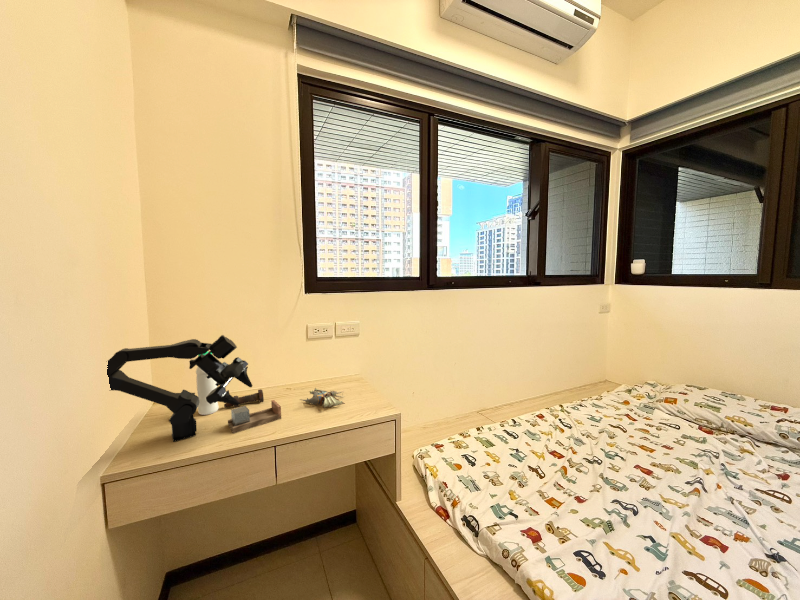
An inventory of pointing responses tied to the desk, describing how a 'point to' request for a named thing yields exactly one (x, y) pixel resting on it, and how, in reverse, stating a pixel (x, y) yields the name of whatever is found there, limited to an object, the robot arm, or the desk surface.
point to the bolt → (247, 399)
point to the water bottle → (205, 392)
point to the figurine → (324, 398)
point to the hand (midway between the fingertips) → (245, 395)
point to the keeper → (240, 415)
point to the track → (259, 418)
